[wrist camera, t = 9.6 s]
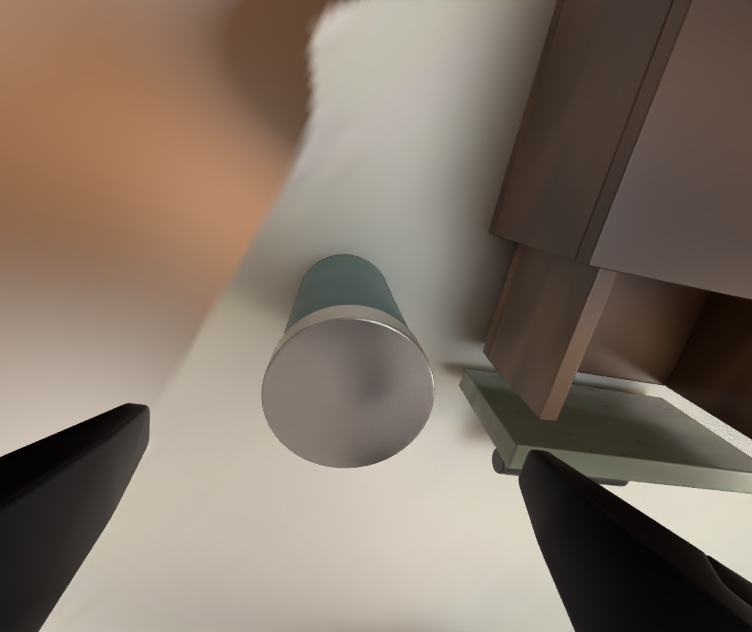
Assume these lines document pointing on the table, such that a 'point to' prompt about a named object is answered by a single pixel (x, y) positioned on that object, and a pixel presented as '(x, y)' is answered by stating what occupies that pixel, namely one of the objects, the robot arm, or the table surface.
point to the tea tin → (347, 370)
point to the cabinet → (640, 143)
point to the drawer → (615, 375)
